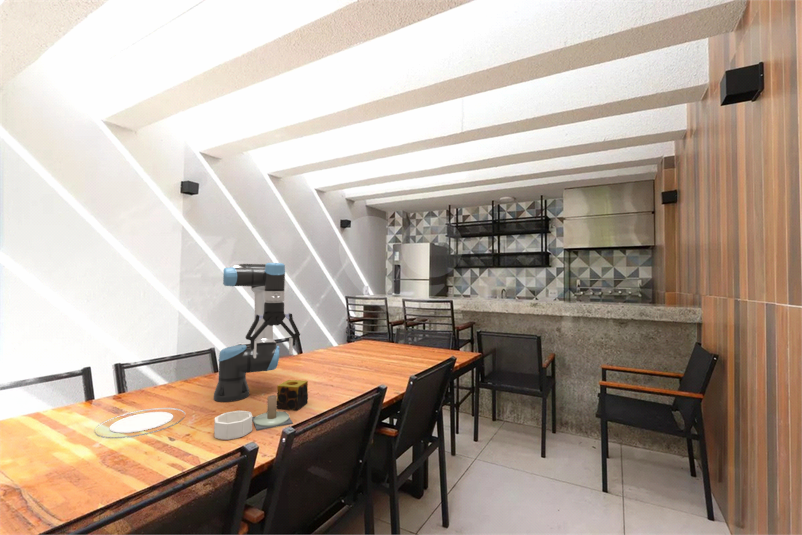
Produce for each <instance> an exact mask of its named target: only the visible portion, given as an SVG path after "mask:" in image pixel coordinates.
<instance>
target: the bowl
mask: <svg viewBox="0 0 802 535" xmlns="http://www.w3.org/2000/svg"><path fill="white" fill-rule="evenodd" d="M252 417H253V414H252V412H251V411H248V410H247V411H246V410H234V411H227V412H224V413H222V414H219V415H218V416H215V417H214V425H213V426H214V427H213V431H214V432H213V434H214V435H213V436H214V438H215V439H218V440H225V441H227V440H228V441H229V440H230V441H231V440H235V439H240V438H241V437H242V438H243V437H245V436H247V435H248V434H250V433H252V431H253V421H252Z"/></svg>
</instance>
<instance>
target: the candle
mask: <svg viewBox="0 0 802 535" xmlns="http://www.w3.org/2000/svg"><path fill="white" fill-rule="evenodd" d="M308 384H309V381H308V380H297V379H287V380H286V381H283V382H281V383H280V384H278V385H277V386H276V390H277V393H276V396H277V410H285V411H289V410H290V411H299V410H300V409H301V408H303V407H305V406H306V405H307V404H308V399H309V396H308V395H309V393H308V390H309V389H308Z"/></svg>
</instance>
